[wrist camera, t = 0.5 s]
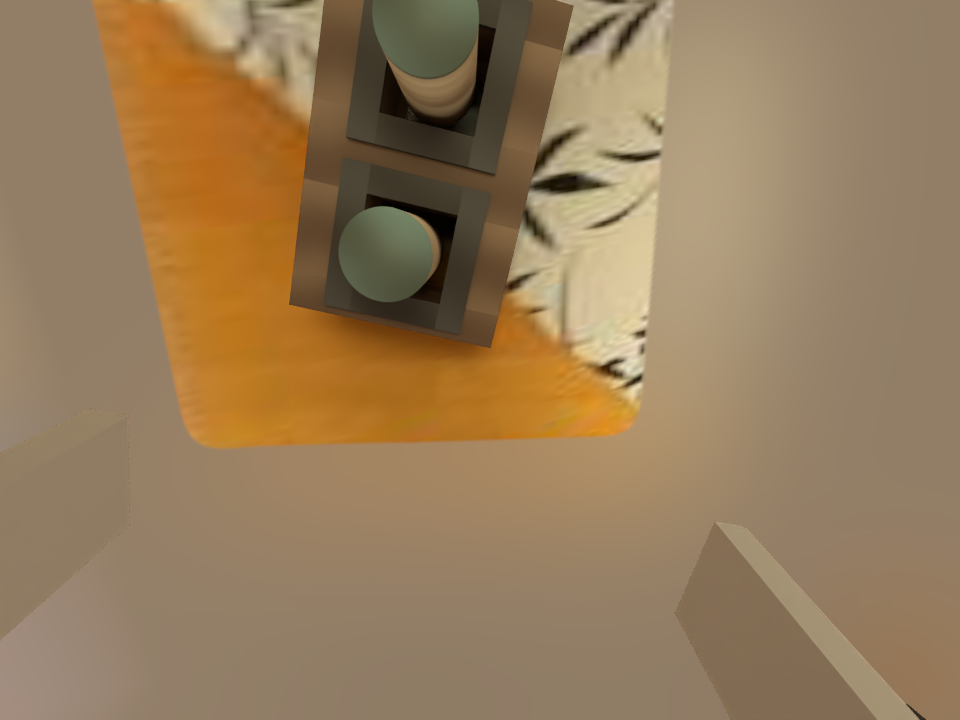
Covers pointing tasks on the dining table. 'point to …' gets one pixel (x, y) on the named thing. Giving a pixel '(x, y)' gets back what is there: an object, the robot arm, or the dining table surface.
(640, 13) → the dining table surface
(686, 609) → the robot arm
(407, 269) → the peg
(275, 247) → the dining table surface
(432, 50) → the peg
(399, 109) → the socket block
